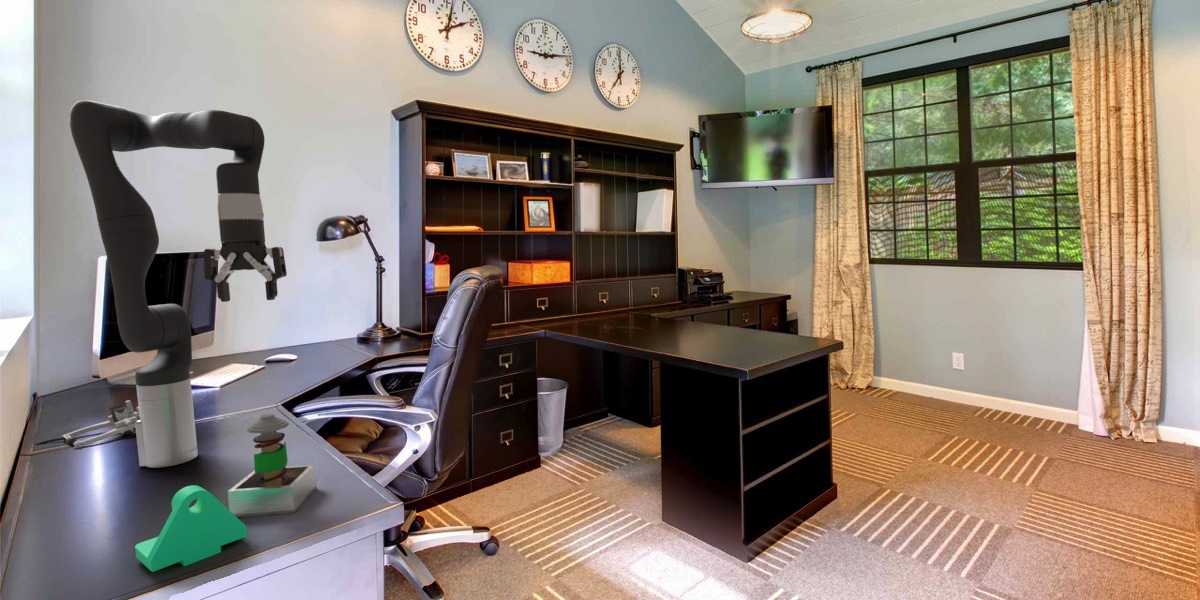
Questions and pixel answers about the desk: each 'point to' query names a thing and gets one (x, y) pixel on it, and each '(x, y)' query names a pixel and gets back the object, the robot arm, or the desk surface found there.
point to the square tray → (272, 493)
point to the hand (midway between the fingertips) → (248, 300)
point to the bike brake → (118, 417)
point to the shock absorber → (270, 450)
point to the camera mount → (191, 531)
